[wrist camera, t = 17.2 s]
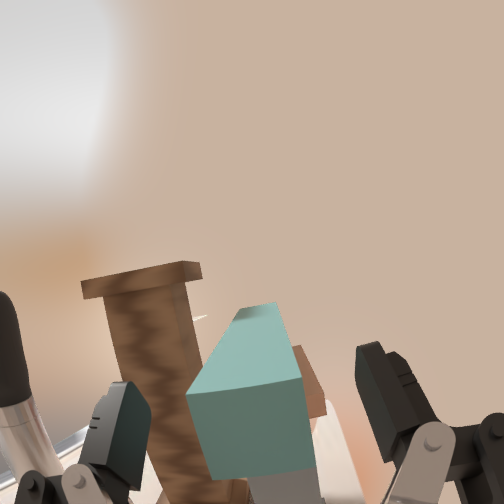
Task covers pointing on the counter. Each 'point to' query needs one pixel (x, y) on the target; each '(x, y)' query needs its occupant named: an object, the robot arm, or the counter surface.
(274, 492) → the ledge
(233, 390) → the bar
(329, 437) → the counter surface
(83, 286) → the stand
